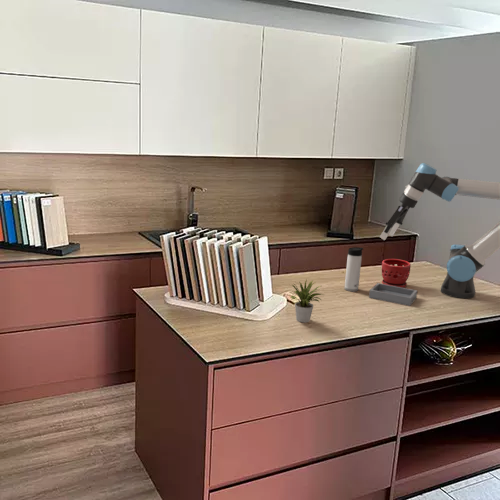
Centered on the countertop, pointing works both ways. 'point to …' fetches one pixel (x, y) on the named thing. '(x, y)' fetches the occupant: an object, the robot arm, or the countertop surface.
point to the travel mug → (353, 269)
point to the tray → (393, 294)
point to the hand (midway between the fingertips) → (386, 236)
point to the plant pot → (395, 272)
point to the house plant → (305, 302)
